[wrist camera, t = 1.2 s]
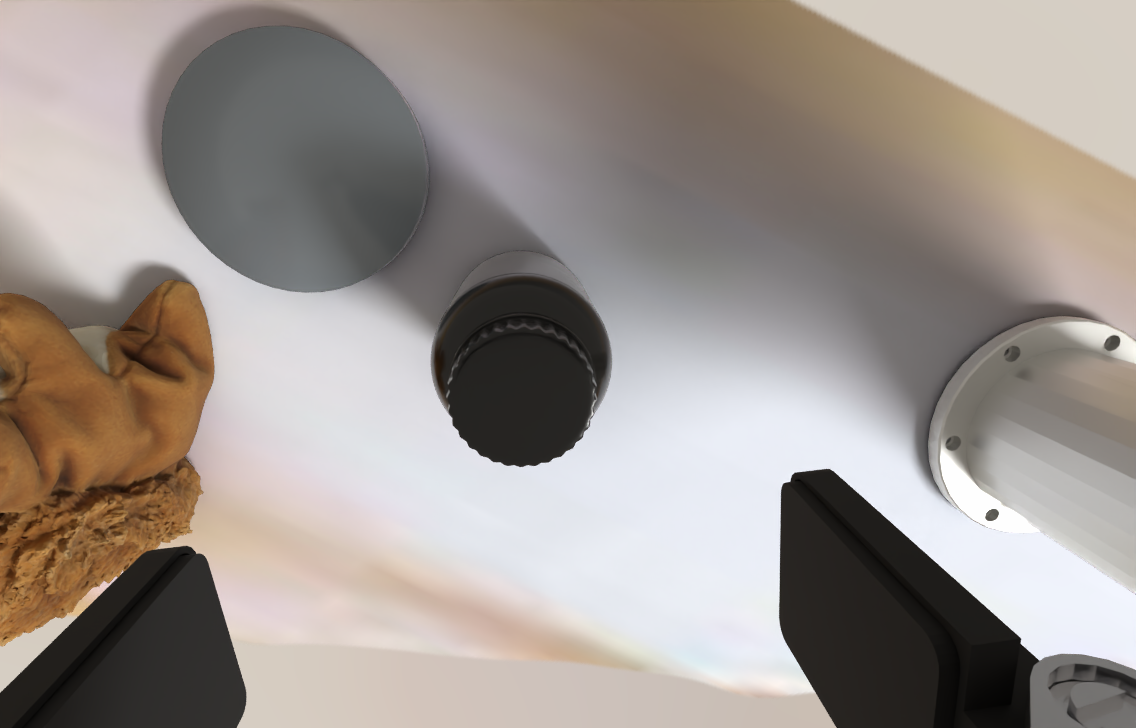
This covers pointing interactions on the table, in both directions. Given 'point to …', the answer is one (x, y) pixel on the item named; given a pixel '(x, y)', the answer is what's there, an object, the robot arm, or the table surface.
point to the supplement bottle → (521, 359)
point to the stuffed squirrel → (94, 446)
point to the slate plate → (294, 159)
